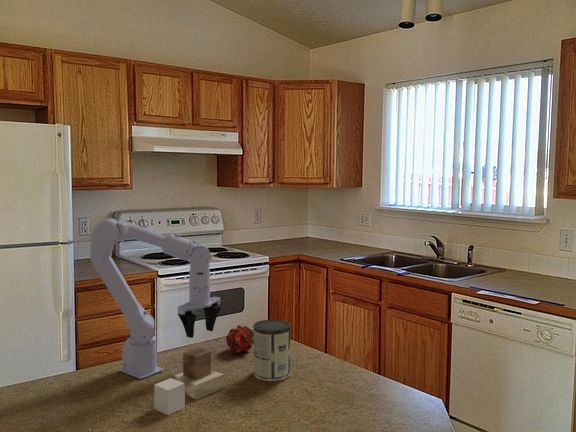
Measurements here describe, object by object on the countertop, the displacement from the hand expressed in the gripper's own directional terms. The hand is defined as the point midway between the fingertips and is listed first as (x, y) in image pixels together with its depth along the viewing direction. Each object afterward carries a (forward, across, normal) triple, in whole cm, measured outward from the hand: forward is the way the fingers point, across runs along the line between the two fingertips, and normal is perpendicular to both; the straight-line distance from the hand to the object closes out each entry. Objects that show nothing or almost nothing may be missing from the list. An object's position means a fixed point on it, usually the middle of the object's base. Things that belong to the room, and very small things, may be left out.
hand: (199, 333), depth 147 cm
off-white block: (+10, -22, -13) cm, 27 cm away
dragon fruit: (+10, +17, 0) cm, 20 cm away
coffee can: (+10, +9, -19) cm, 23 cm away
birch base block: (+10, -10, -10) cm, 18 cm away
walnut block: (+6, -10, -10) cm, 15 cm away
